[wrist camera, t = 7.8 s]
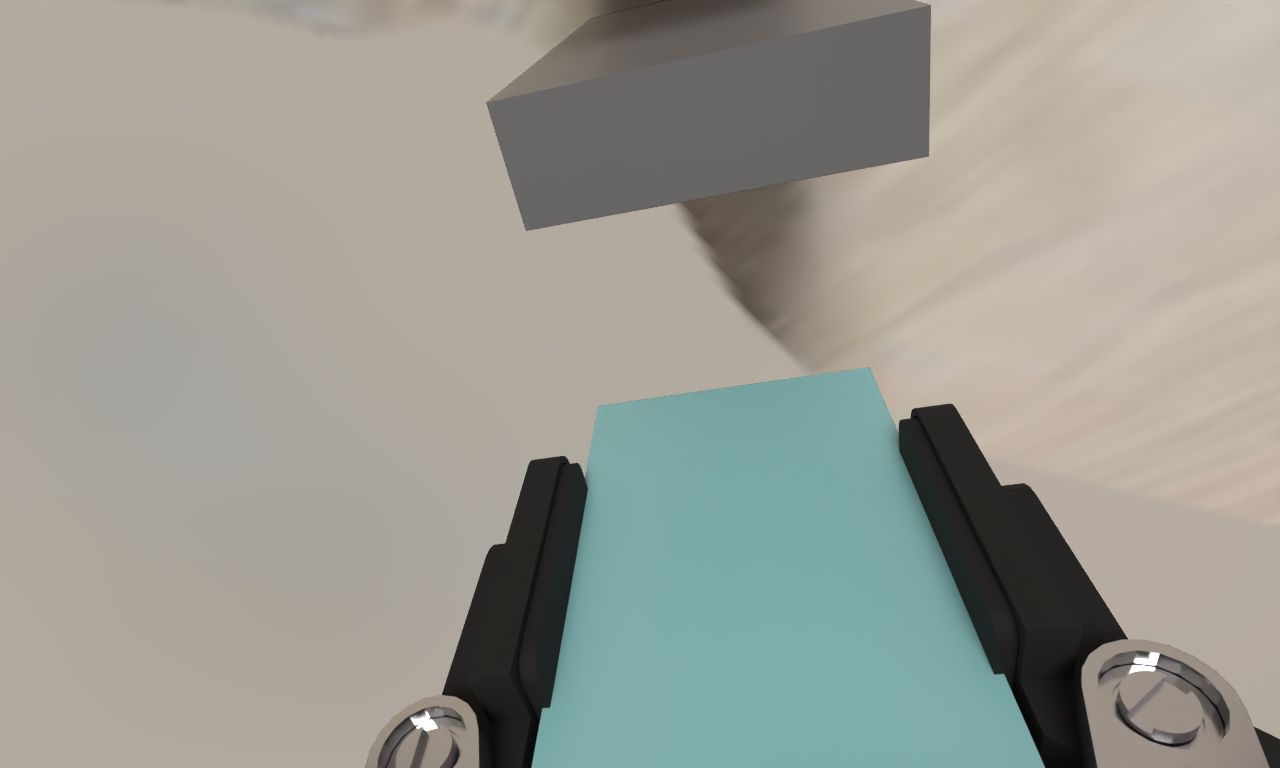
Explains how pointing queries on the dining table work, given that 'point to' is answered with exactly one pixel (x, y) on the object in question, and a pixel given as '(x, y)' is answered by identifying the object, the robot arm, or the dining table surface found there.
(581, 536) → the teal domino
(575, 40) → the domino
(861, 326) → the dining table surface
